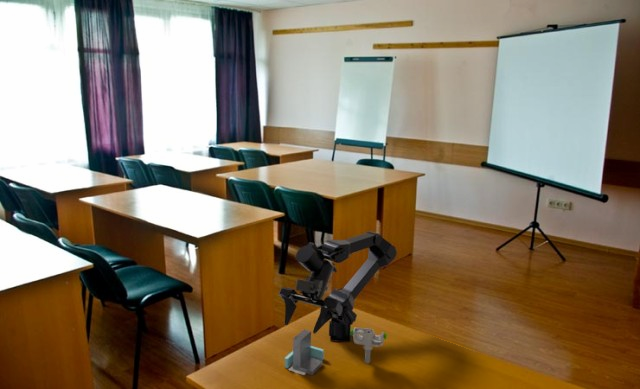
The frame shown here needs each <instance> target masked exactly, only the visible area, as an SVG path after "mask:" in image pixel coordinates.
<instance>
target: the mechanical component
mask: <svg viewBox="0 0 640 389" xmlns="http://www.w3.org/2000/svg"><path fill="white" fill-rule="evenodd" d="M350 331H351V336H352V337H353V340H352V341H353V342H354V344H355V345H361V346H362V345H363V349H364V352H365V353H364V363H365V364H370V363H371V351H372V350H373V347H377V348H379V347H382V346H383V345H384V340H387V333H385V332H384V331H382V332H381V334H376V333H375V332H374V331H375V330H374V329H373V328H364V327H355V326H354V328H353V329H352V328H351V330H350Z"/></svg>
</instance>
